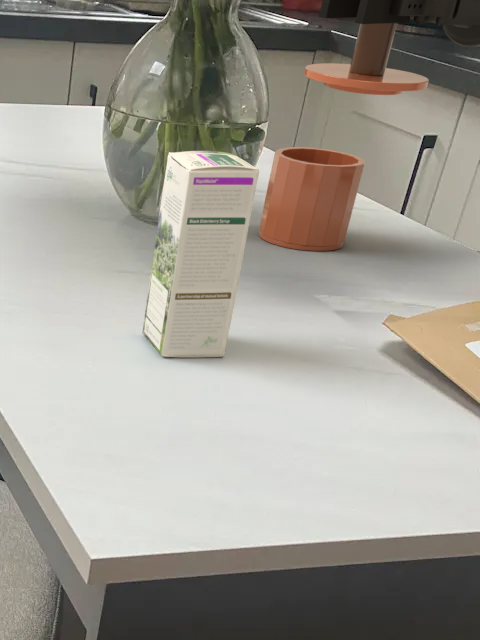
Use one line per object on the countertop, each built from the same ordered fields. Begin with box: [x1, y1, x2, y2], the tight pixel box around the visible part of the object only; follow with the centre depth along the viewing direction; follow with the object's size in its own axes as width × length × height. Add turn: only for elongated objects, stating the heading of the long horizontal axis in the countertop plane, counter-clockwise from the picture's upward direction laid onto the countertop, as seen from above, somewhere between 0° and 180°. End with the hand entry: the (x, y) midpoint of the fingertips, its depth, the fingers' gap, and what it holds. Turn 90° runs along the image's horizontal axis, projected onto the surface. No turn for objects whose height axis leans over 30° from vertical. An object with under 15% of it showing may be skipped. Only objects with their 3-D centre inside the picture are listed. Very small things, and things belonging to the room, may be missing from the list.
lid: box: [303, 23, 430, 96], centre depth 92 cm, size 11×11×10 cm
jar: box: [258, 146, 366, 252], centre depth 117 cm, size 9×9×8 cm
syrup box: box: [141, 150, 260, 359], centre depth 85 cm, size 6×6×14 cm
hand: (345, 1), depth 88 cm, fingers closed on lid, 3 cm apart
